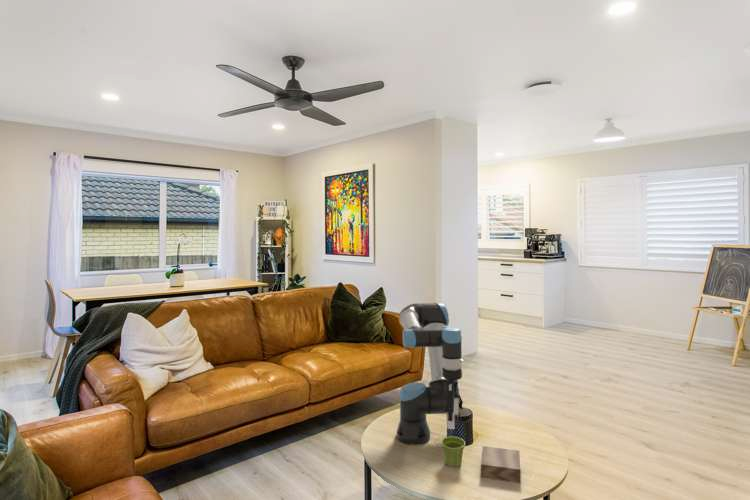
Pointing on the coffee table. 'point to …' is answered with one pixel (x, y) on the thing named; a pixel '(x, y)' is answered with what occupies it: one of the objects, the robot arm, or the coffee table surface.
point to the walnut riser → (500, 464)
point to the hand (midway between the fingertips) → (452, 421)
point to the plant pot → (453, 450)
